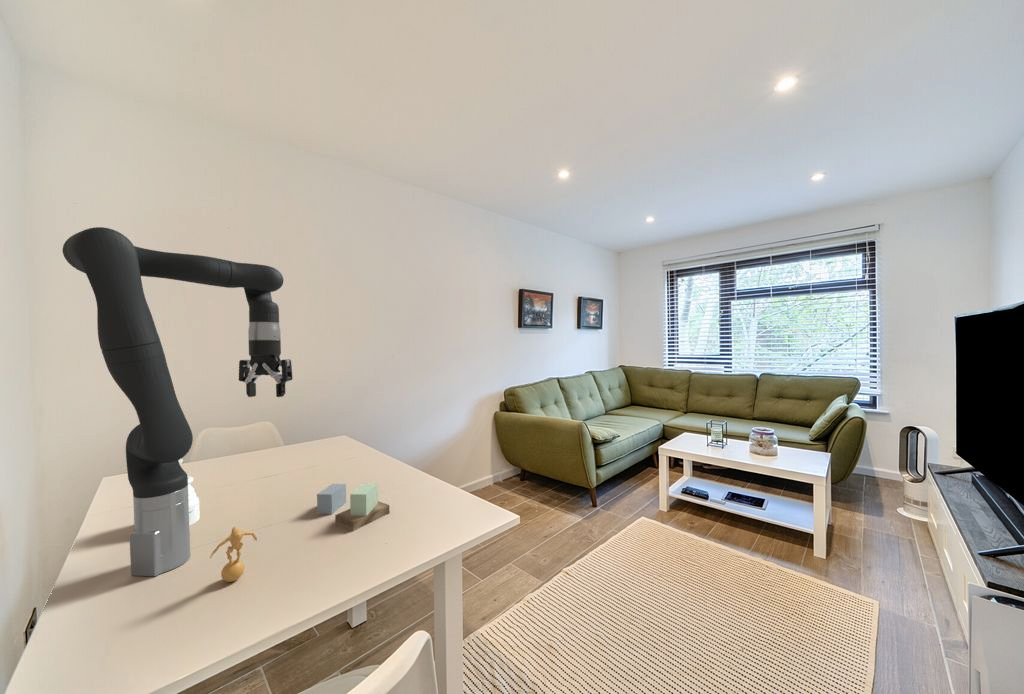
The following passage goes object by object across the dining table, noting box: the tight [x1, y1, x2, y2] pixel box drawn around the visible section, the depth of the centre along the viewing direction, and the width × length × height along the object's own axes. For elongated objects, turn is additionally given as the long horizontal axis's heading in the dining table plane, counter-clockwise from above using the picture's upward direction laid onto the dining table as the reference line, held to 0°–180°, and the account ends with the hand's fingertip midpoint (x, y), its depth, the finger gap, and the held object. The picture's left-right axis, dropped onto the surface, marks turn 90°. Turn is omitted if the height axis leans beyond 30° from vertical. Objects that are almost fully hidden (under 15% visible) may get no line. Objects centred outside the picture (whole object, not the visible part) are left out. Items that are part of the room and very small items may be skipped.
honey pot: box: [178, 458, 201, 527], centre depth 106 cm, size 13×13×18 cm
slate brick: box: [316, 483, 347, 515], centre depth 115 cm, size 8×4×6 cm, turn 175°
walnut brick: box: [334, 500, 390, 532], centre depth 108 cm, size 12×8×3 cm, turn 148°
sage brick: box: [349, 482, 379, 516], centre depth 108 cm, size 8×4×6 cm, turn 178°
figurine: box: [209, 526, 258, 583], centre depth 80 cm, size 8×6×12 cm
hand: (266, 396), depth 105 cm, fingers open, 8 cm apart
